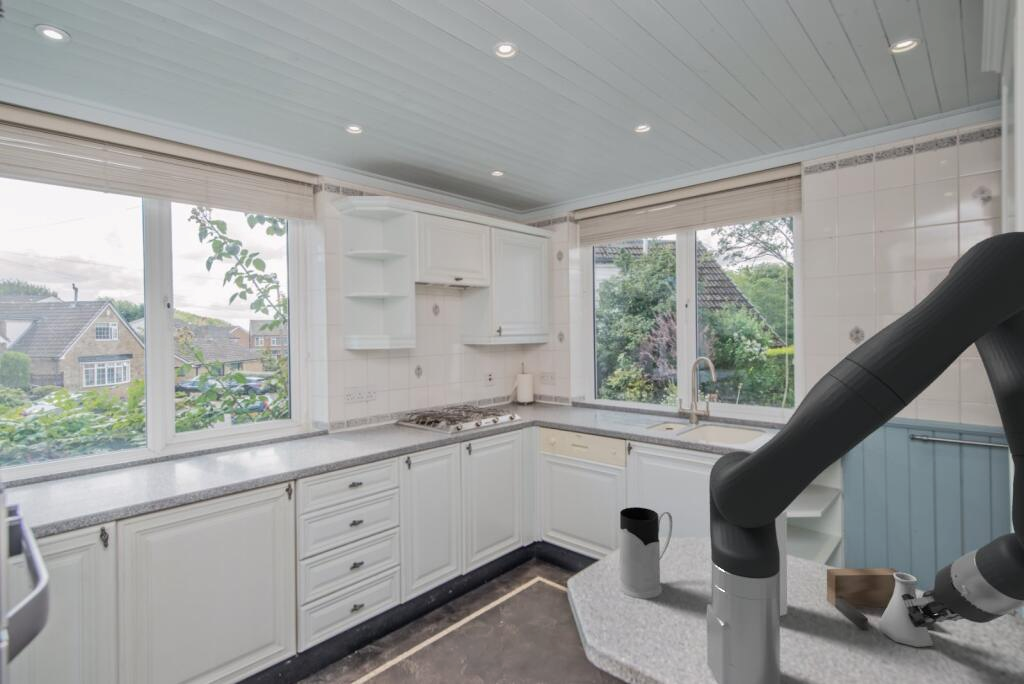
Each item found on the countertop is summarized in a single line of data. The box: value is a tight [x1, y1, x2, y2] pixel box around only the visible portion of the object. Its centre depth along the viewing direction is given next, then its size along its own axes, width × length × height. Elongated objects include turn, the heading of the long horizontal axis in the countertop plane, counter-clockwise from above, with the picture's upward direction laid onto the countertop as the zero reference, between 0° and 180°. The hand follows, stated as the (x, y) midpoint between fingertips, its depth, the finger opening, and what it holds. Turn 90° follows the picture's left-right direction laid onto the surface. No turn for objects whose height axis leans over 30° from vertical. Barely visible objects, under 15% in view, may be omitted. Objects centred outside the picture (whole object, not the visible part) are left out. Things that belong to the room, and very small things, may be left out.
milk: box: [775, 509, 788, 617], centre depth 93 cm, size 6×6×22 cm
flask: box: [878, 571, 934, 648], centre depth 84 cm, size 7×7×10 cm
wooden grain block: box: [826, 567, 935, 631], centre depth 91 cm, size 12×10×6 cm
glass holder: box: [617, 506, 673, 600], centre depth 103 cm, size 9×14×15 cm, turn 123°
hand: (915, 620), depth 82 cm, fingers closed
